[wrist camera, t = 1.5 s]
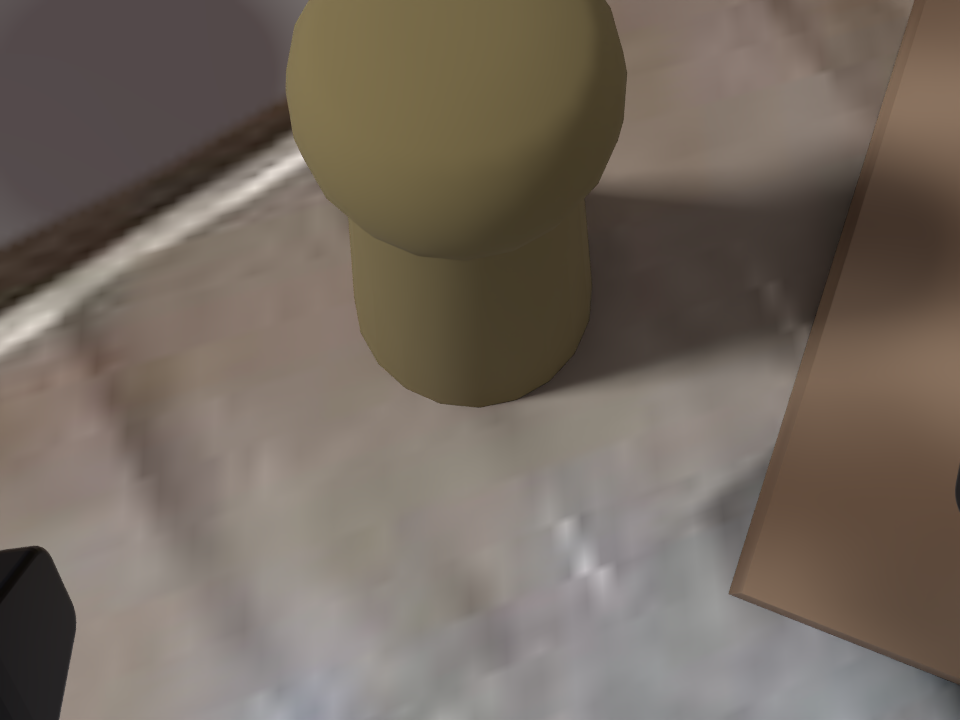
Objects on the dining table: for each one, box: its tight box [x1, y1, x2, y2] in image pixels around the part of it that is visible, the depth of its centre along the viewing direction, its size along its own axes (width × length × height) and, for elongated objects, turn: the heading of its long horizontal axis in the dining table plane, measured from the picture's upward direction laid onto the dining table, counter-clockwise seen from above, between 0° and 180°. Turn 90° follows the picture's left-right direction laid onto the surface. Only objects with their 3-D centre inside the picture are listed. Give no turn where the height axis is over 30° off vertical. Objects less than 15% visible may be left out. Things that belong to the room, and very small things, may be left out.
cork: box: [286, 0, 627, 407], centre depth 18 cm, size 6×6×11 cm
